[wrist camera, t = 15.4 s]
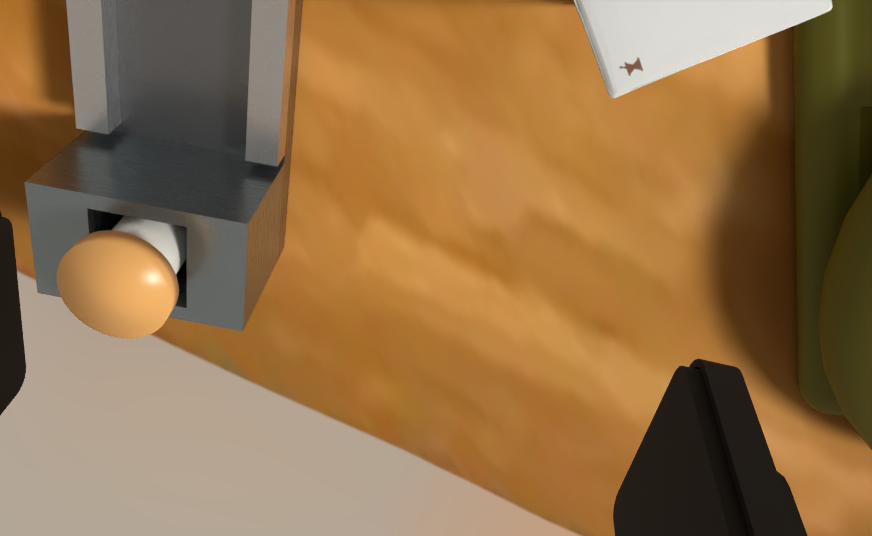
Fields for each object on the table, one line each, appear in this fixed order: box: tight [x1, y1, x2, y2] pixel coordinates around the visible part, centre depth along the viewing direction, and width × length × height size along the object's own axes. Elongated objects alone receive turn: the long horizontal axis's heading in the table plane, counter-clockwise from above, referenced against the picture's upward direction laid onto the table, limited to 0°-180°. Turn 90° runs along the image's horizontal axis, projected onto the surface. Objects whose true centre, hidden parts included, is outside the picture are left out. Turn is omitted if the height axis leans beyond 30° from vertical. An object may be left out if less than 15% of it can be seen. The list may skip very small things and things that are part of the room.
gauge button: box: [57, 215, 187, 338], centre depth 39 cm, size 5×5×8 cm
